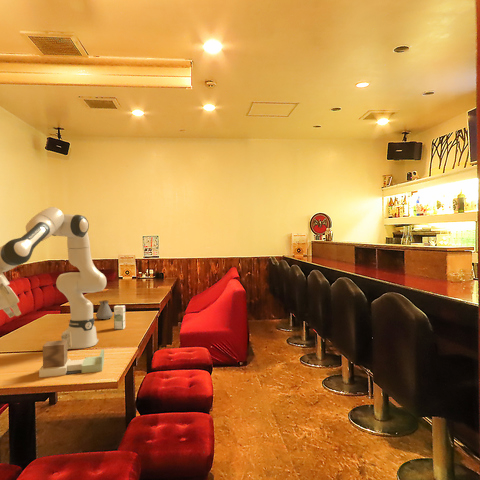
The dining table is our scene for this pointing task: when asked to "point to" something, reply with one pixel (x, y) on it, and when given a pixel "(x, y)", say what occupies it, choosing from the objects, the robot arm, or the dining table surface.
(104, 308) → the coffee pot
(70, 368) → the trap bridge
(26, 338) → the dining table surface
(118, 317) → the syrup box
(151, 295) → the dining table surface
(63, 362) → the walnut block
